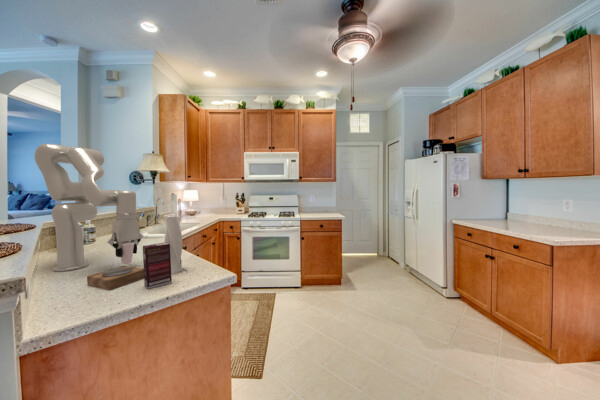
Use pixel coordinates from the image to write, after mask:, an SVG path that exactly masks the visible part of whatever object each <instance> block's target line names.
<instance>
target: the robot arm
mask: <svg viewBox="0 0 600 400" xmlns="http://www.w3.org/2000/svg"><path fill="white" fill-rule="evenodd" d="M34 160H35V163H36V166H37V167H38V169H39V171H40V173H41V174H42V176H43V179H44V182H45V186H46V188H47V192H48V193H49V196H50V198H51V199H52V200H53V201H57V202H64V203H59V204H57V205H55V206H54V207H52V209H51V217H52V220H53V224H54V230H55V240H56V243H55V244H56V245H55V246H56V265H55V266H54V267H52V271H53V272H67V271H73V270H79V269H82V268H85V267H88V265H89V261H85V249H84V248H85V247H84V245H85V244H84V230H83V227H82V225H80V223H79V222H85V221H91V220H93V219H95V218H96V217H97V215H98V208H101V207H115V206H116V209H115V210H116V211H115V212H116V215H115V216H116V219H115V220H114V221H113V224H112V232H111V237H110V238H109V239H108V241H107V244H109V245H111V247H112V248H114V249H115V257H118V258H121V257H122V248H121V245H122V243H123V242H127V241H134V242H135V244H134V249H133V254H134V255H135V254H138V245H139V244H140V242H141V241H142V239H143V238H144V235H143V234H142V233H141V232H140V225H139V221H138V219H137V217H139V214H138V213H137V193H136V192H135V191H134V190H119V189H117V190H116V189H101V188H100V187H99V186H98V185H97V183H96V182H95V181H98V180H100V179H101V178H102V177H103V176H104V174H105V171H104V169H103V168H102V165H104V162H105V157H104V154H102V153H101V152H100V151H99V150H96V149H93V148H87V147H86V148H85V147H80V146H68V145H62V144H58V143H43V144H40V145H39V146H37V147H36V149H35V152H34ZM60 163H61V164H69V165H70V164H71V165H72V166H73V167H74V169H75V170H76V171H77V172H78V174H79V175H80V176H81V178H82V180H81V182H75V181H72V180H71V179H70V177H69V174H68V172H67V171H66V169H64V167H63V166H61V165H60ZM97 207H98V208H97Z"/></svg>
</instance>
